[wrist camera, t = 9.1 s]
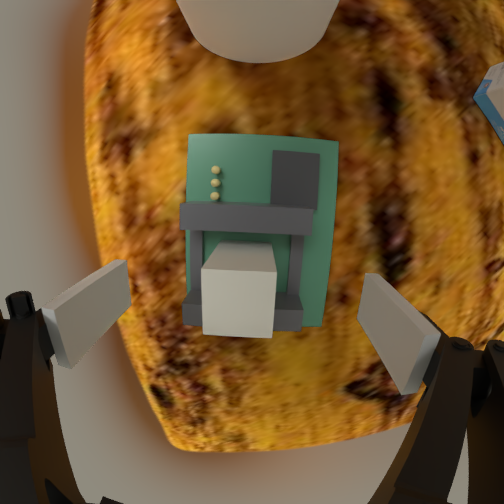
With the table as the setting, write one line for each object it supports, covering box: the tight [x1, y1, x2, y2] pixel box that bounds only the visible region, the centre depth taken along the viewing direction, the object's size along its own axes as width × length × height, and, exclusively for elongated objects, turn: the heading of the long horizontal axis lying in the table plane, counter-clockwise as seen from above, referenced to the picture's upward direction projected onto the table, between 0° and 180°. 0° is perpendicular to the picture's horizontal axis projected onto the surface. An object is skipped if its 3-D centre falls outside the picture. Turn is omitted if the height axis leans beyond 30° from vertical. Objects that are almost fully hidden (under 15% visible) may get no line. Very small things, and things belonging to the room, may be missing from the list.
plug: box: [201, 240, 277, 338], centre depth 19 cm, size 4×4×8 cm
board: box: [180, 134, 339, 331], centre depth 21 cm, size 16×12×5 cm
